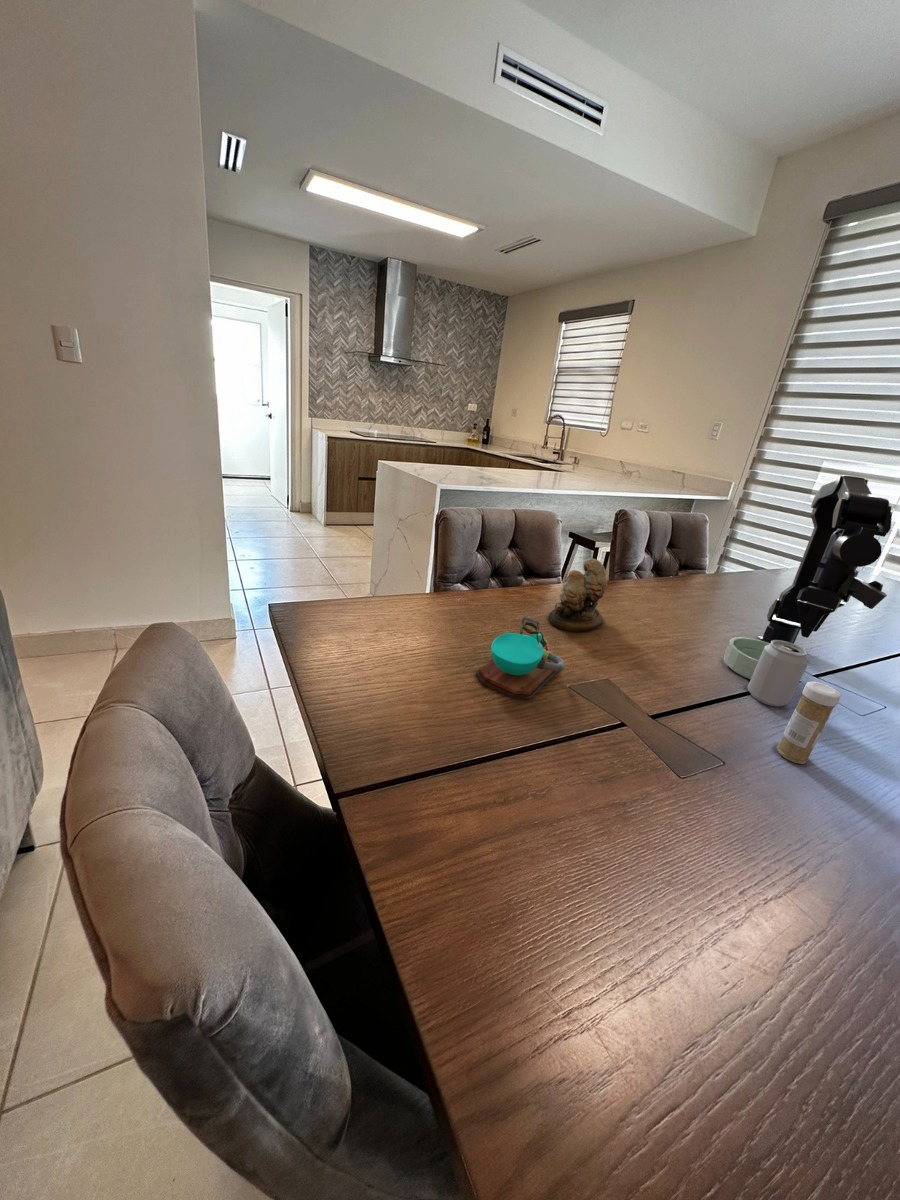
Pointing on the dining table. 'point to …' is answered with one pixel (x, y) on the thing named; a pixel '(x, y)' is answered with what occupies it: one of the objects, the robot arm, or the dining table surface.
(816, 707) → the sprinkles bottle
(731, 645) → the basin
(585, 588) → the owl figurine
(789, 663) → the can
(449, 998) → the dining table surface
